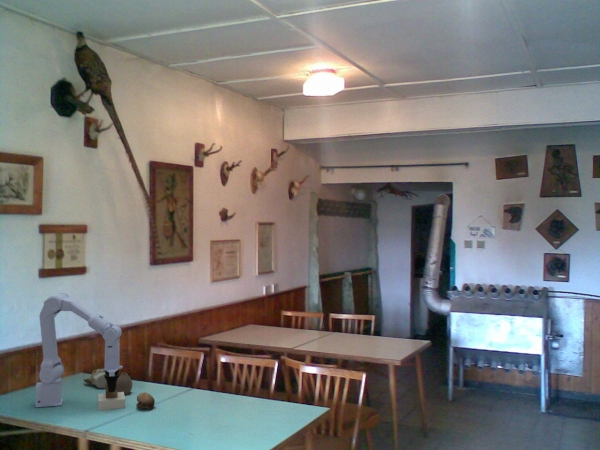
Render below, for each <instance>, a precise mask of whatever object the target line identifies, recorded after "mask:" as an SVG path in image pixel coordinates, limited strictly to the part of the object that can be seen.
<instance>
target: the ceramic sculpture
mask: <svg viewBox="0 0 600 450" xmlns="http://www.w3.org/2000/svg"><path fill="white" fill-rule="evenodd" d="M104 374H106V373H105V370H104V367H102V366H99V368H98V369H94V370H93V371H92V372H91V374H90V376H89V377H88V378H83V382H84V383H85V384H87V385H93V386H96V387H97V388H98V389H106V383H107V381H106V379H105V377H104Z"/></svg>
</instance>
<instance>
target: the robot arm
mask: <svg viewBox="0 0 600 450" xmlns="http://www.w3.org/2000/svg"><path fill="white" fill-rule="evenodd" d="M60 312H71V313H73V314H75V315H77V316H78V317H80V318H81V319H83V320H85V321H86V322H87V324H88V327H89V328H91V329H93V330H94V331H95V332H97V334H100V335H101V336H102V338H103V340H104V367H103V369H104V370H105V373H106V374H104V377H105V379H106V381H107V385H108V391H109V392H114V391H115V387H116V382H117V379H118V378H119V377H120V374H119V373H120V372H119V371H120V370H121V369H123V365H120V352H121V351H120V348H121V347H120V346H121V343H120V340H121V339H120V337H121V335H122V334H123V330H122V328H121V326H119V324H114V323H113V322H112V321H111V322H110V321H109V320H107V319H106V318H105V317H104V315H103V314H93V313H92V312H91V311H89V310H88V309H87V308H85V307H84V306H83V305H82V304H80V302H78V301H76V300H75V299H74V297H72V296H69V294H68V293H64V292H62V293H58V294H55V295H50V296H49V297H47V299H46V300H44V301H43V306H42V308H41V311H40V313H39V324H40V336H41V345H42V356H43V360H42V361H41V364H40V372H39V374H38V376H39V380H40V382H36V384H35V385H36V386H35V398H34V399H35V400H34V401H35V408H46V407H47V408H48V407H57V406H59V407H60V406H62V404H63V400H64V398H62V376H63V375H64V373H65V367H64V365H63V363H62V359H61V357H60V356H59V355H58V352H59V351H58V344H57V343H58V342H57V333H56V323H55V317H57V315H59V313H60Z"/></svg>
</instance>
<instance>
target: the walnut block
mask: <svg viewBox="0 0 600 450" xmlns="http://www.w3.org/2000/svg"><path fill="white" fill-rule="evenodd" d="M105 393H106V399H108V398H118V383H117V382H116V387H115V391H114V392H109V391H108V385H107V383H106V388H105Z"/></svg>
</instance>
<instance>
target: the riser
mask: <svg viewBox="0 0 600 450" xmlns="http://www.w3.org/2000/svg"><path fill="white" fill-rule="evenodd" d="M97 405H98V406H97V407H98V408H97V409H98V411H107V410H117V409H125V408H126V395H124V392H118V398H108V399H106V392H105V393H98V394H97Z"/></svg>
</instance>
